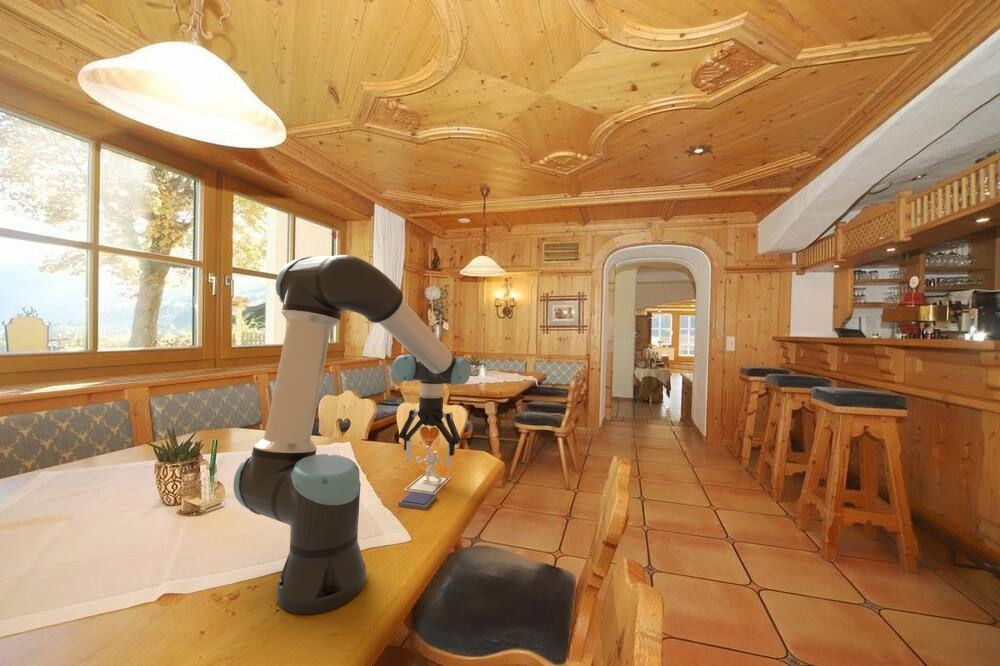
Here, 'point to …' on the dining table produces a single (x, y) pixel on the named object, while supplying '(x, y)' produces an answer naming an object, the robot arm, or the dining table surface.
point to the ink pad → (417, 500)
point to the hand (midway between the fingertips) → (428, 463)
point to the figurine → (430, 466)
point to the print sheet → (426, 485)
